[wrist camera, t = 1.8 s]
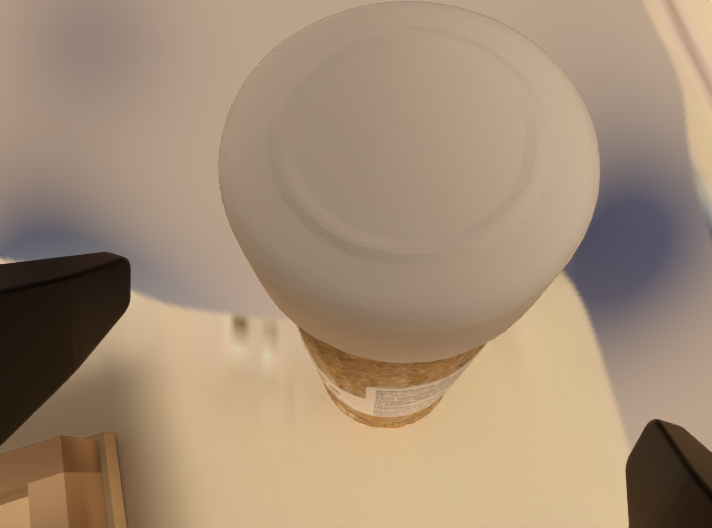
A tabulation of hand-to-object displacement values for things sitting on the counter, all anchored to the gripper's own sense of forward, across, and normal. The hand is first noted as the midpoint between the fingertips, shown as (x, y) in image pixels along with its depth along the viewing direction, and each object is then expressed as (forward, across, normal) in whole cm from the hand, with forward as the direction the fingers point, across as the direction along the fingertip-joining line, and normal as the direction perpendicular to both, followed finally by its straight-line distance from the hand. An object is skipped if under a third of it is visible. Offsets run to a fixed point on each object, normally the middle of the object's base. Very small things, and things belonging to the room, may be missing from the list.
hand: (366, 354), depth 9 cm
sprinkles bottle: (+8, 0, +6) cm, 10 cm away
